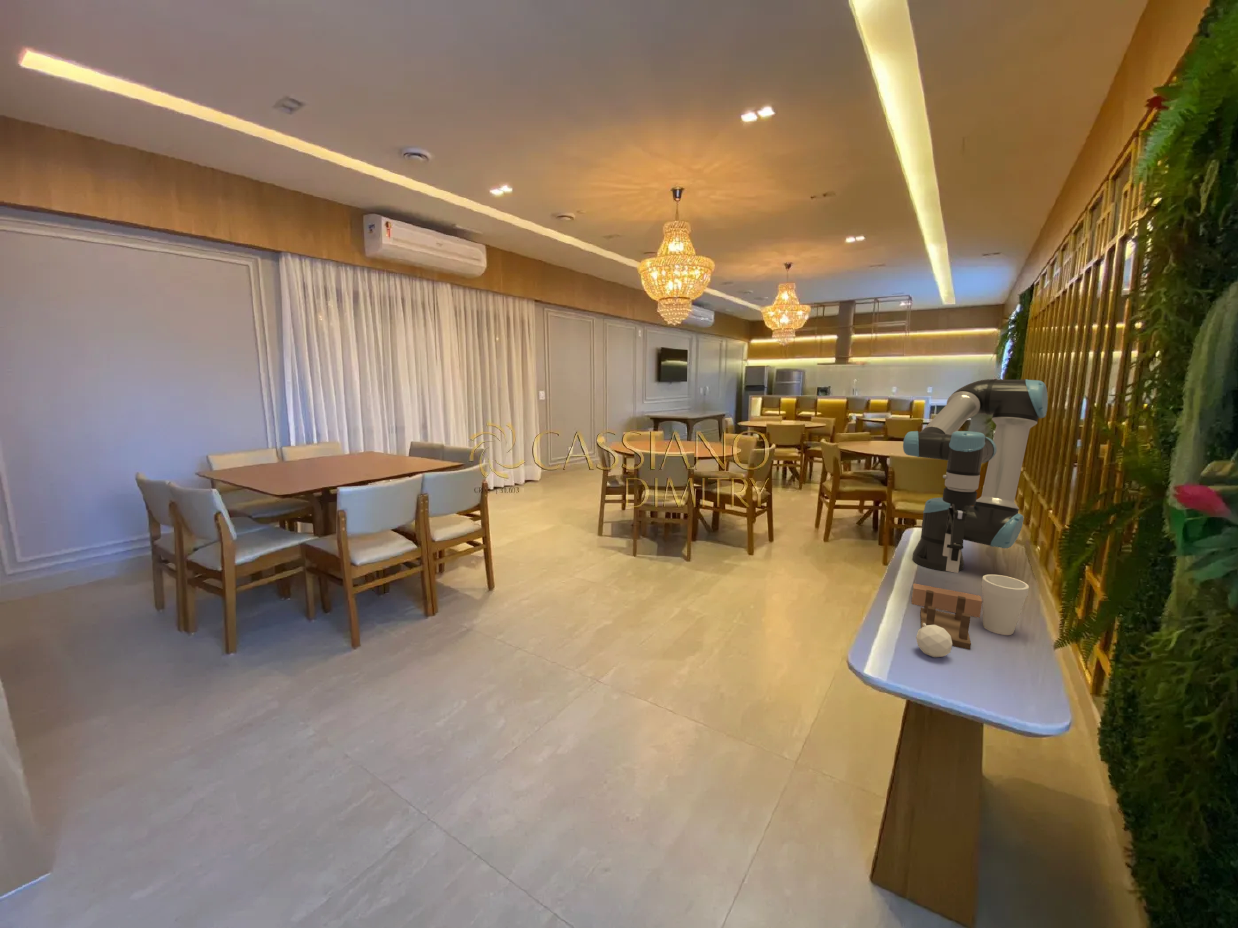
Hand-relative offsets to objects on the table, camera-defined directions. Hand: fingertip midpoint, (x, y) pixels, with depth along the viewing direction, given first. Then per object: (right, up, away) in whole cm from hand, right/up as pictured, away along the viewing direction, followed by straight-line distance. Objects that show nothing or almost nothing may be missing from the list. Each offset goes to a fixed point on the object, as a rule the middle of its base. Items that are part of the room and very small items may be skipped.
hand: (950, 563), depth 138 cm
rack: (-8, -15, -10) cm, 20 cm away
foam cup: (+6, -15, -9) cm, 19 cm away
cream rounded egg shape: (-18, -17, -21) cm, 33 cm away
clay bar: (0, -13, +3) cm, 14 cm away
